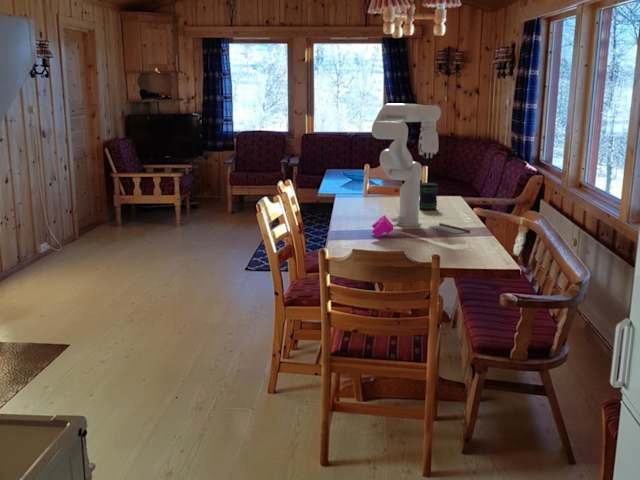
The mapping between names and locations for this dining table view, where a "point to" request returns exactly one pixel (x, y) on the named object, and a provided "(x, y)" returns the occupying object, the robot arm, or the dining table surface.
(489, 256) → the dining table surface
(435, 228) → the felt mat
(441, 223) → the stop rail
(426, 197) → the storage jar
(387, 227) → the toy block
